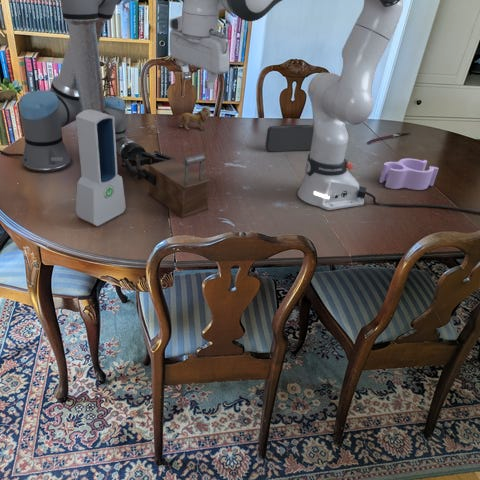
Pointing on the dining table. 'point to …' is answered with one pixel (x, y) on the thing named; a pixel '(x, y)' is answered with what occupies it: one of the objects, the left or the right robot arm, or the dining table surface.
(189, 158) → the lid
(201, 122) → the lion figurine
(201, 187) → the chest
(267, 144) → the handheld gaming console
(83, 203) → the electronic device
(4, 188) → the dining table surface
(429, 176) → the clip
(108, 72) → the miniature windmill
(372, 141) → the sword
